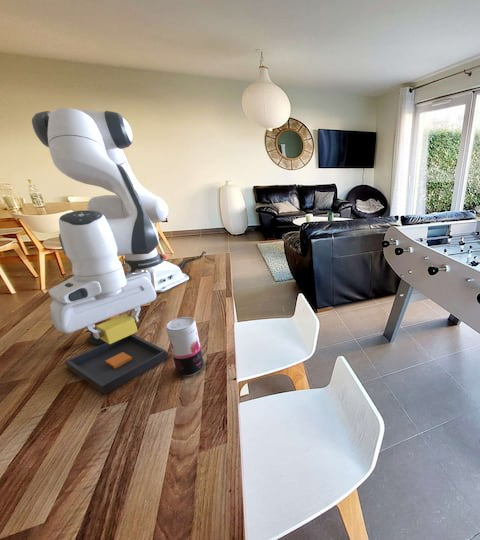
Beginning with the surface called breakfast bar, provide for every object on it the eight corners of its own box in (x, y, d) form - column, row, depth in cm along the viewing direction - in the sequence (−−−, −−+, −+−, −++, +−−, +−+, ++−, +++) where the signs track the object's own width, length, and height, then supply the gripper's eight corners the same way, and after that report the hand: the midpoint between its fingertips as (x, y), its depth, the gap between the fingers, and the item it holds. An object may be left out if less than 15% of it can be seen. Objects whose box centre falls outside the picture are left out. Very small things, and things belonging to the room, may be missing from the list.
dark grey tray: (131, 338, 91) (129, 332, 90) (168, 357, 84) (166, 350, 83) (67, 368, 78) (64, 361, 77) (104, 394, 71) (101, 386, 70)
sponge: (128, 326, 78) (124, 314, 76) (138, 331, 76) (134, 318, 75) (100, 339, 72) (95, 325, 71) (109, 344, 71) (105, 330, 69)
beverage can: (207, 369, 80) (198, 323, 74) (181, 381, 76) (169, 333, 70) (199, 357, 84) (190, 313, 79) (174, 368, 80) (162, 322, 74)
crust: (123, 354, 83) (122, 351, 83) (132, 359, 82) (131, 356, 81) (105, 363, 80) (104, 360, 79) (114, 369, 78) (113, 366, 77)
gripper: (141, 265, 78) (152, 309, 84) (37, 293, 61) (59, 346, 66) (155, 269, 76) (166, 314, 81) (51, 300, 59) (73, 355, 64)
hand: (117, 329), depth 74 cm, fingers closed on sponge, 6 cm apart
